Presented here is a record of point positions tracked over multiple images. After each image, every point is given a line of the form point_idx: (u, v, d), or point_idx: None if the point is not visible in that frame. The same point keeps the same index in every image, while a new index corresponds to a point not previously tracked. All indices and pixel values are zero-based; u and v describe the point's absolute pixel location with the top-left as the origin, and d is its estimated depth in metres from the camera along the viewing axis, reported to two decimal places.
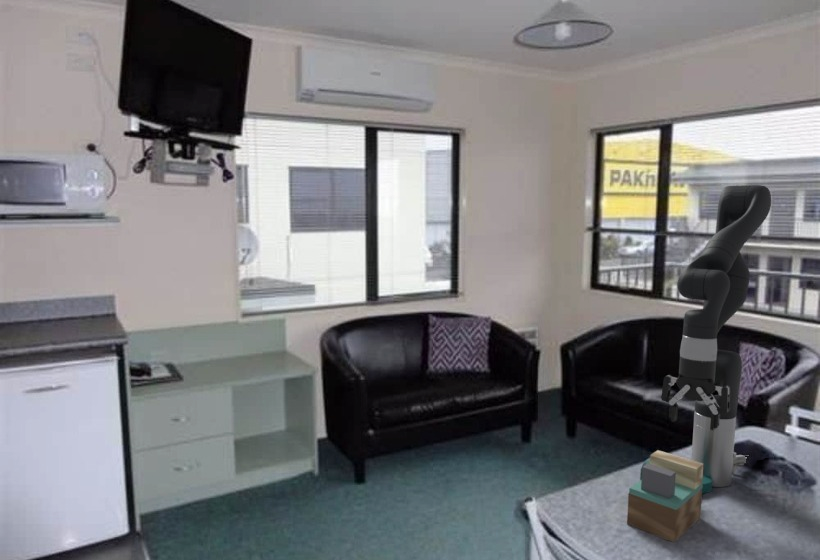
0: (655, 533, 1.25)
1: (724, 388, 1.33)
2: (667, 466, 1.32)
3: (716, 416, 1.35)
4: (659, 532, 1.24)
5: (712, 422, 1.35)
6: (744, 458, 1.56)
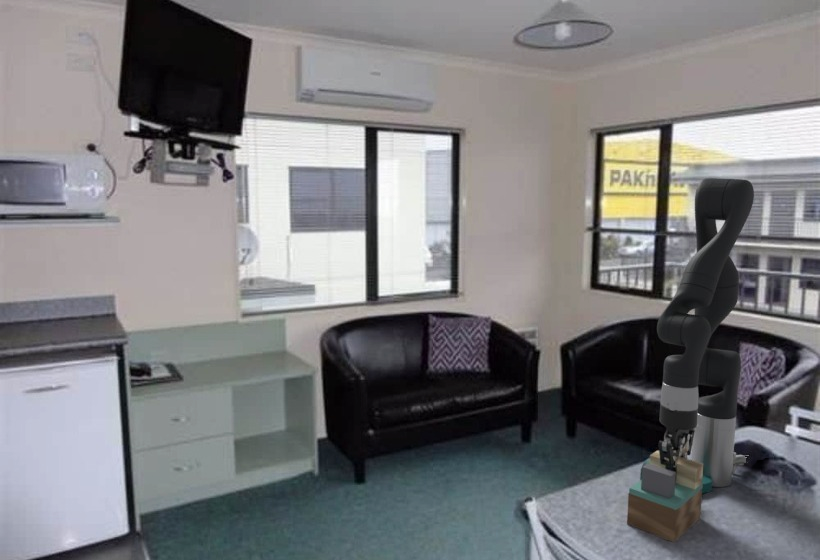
0: (655, 533, 1.25)
1: (694, 430, 1.35)
2: None
3: None
4: (659, 532, 1.24)
5: None
6: (744, 458, 1.56)
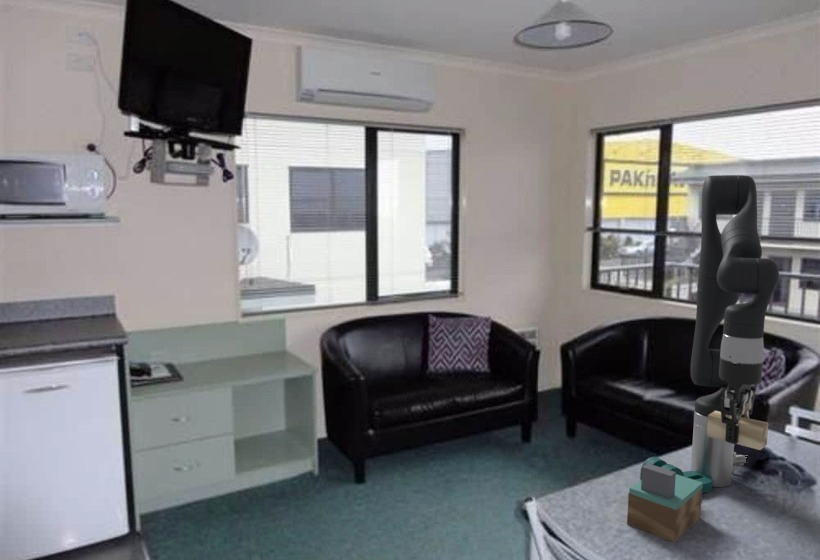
0: (655, 533, 1.25)
1: (755, 387, 1.24)
2: None
3: None
4: (659, 532, 1.24)
5: None
6: (744, 458, 1.56)
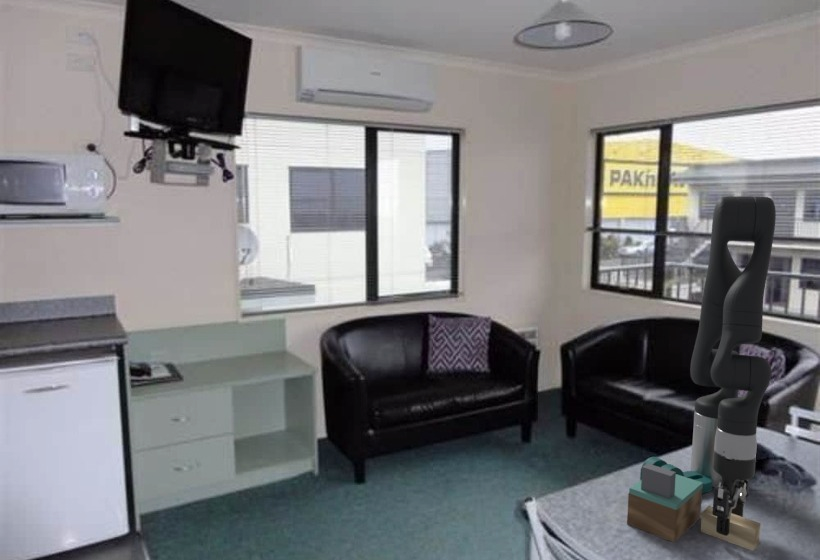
0: (655, 533, 1.25)
1: None
2: None
3: None
4: (659, 532, 1.24)
5: (742, 512, 1.26)
6: None
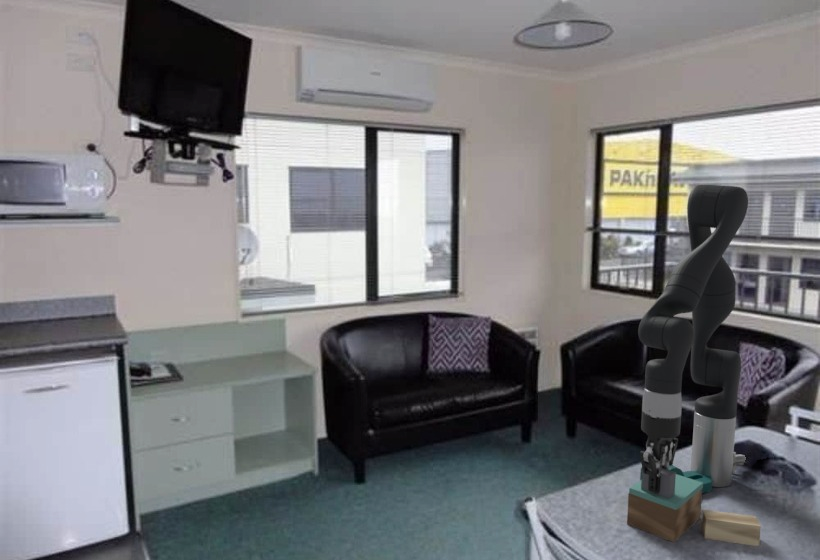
0: (655, 533, 1.25)
1: (677, 439, 1.29)
2: (726, 528, 1.22)
3: None
4: (659, 532, 1.24)
5: None
6: (744, 457, 1.56)
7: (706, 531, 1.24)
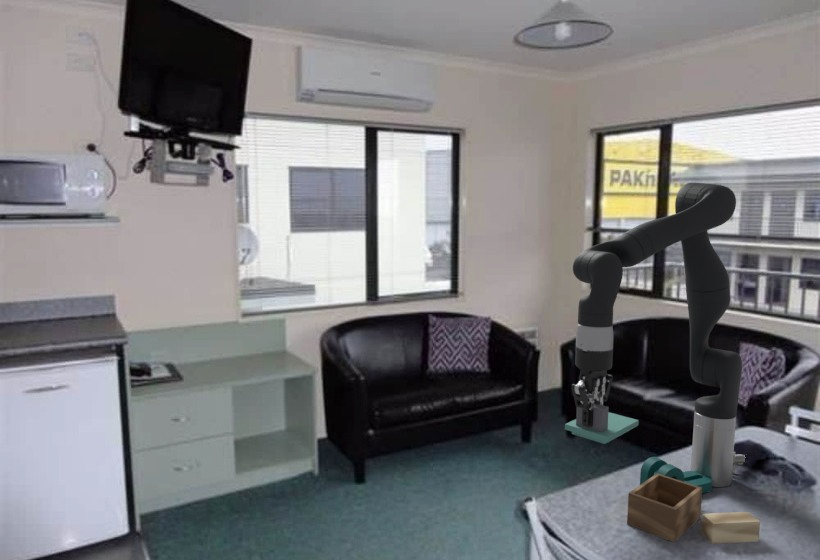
0: (655, 533, 1.25)
1: (612, 376, 1.31)
2: (731, 529, 1.22)
3: None
4: (659, 532, 1.24)
5: None
6: (743, 457, 1.56)
7: (713, 536, 1.22)
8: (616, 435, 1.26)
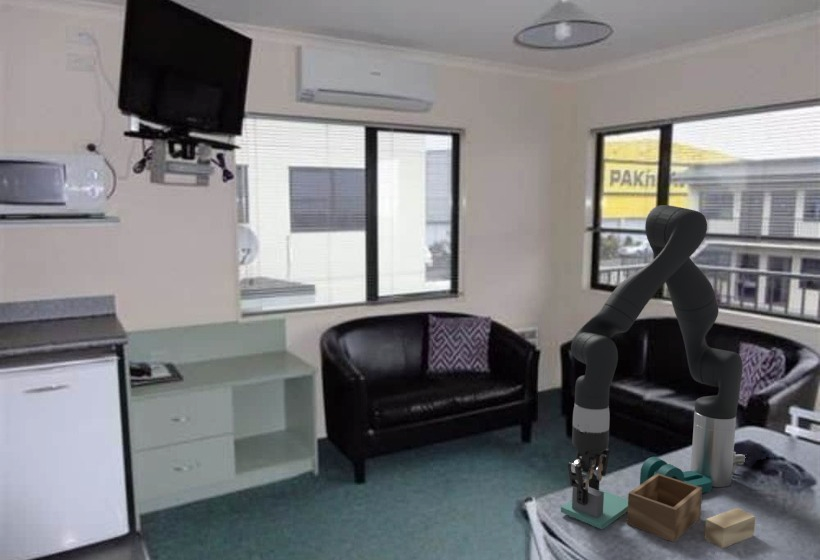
0: (655, 533, 1.25)
1: (608, 450, 1.33)
2: (735, 529, 1.22)
3: None
4: (659, 532, 1.24)
5: (598, 489, 1.32)
6: (744, 457, 1.56)
7: (723, 540, 1.20)
8: (611, 521, 1.28)
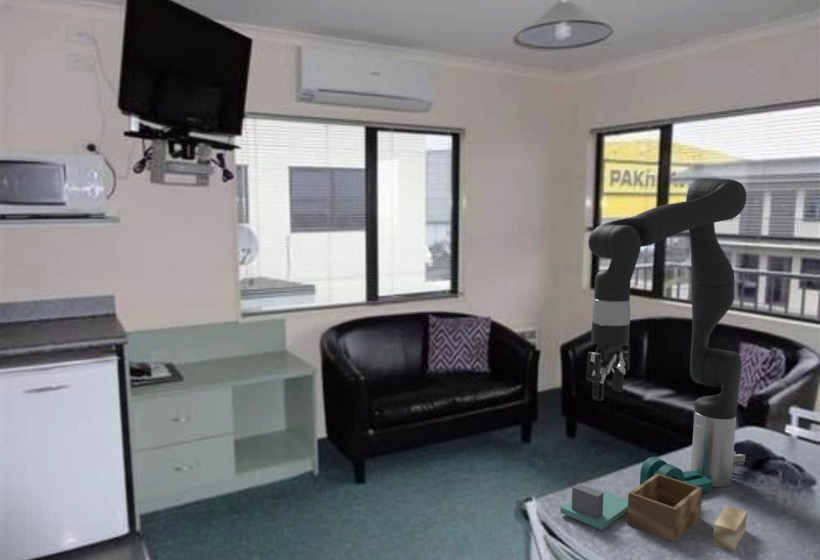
0: (655, 533, 1.25)
1: (629, 345, 1.30)
2: (739, 529, 1.22)
3: None
4: (659, 532, 1.24)
5: (622, 383, 1.29)
6: (744, 457, 1.56)
7: (735, 543, 1.19)
8: (611, 521, 1.28)
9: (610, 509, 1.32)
